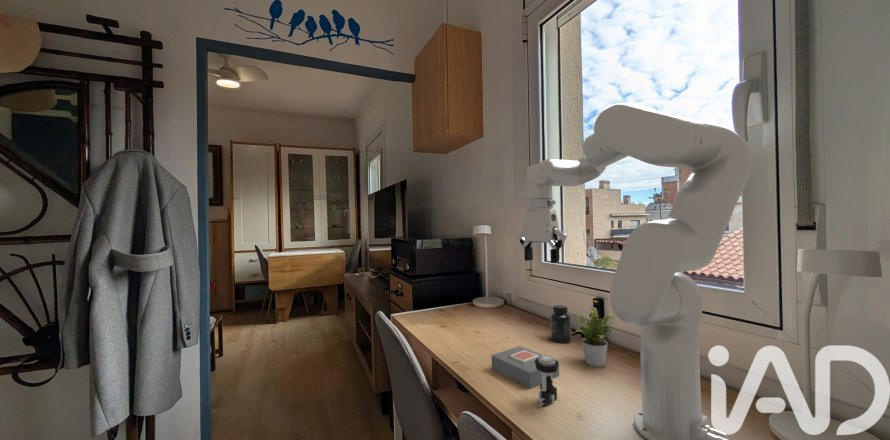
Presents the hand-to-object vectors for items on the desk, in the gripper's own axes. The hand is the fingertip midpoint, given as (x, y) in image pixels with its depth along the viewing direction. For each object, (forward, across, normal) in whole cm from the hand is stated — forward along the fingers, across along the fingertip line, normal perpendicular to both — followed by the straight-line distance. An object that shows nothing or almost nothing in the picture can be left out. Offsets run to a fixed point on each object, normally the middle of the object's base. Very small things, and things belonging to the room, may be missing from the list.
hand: (541, 261), depth 97 cm
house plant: (+31, -11, -11) cm, 34 cm away
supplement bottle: (+31, +8, -20) cm, 37 cm away
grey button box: (+30, -1, +10) cm, 32 cm away
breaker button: (+29, -1, +10) cm, 31 cm away
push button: (+31, -14, +18) cm, 38 cm away
